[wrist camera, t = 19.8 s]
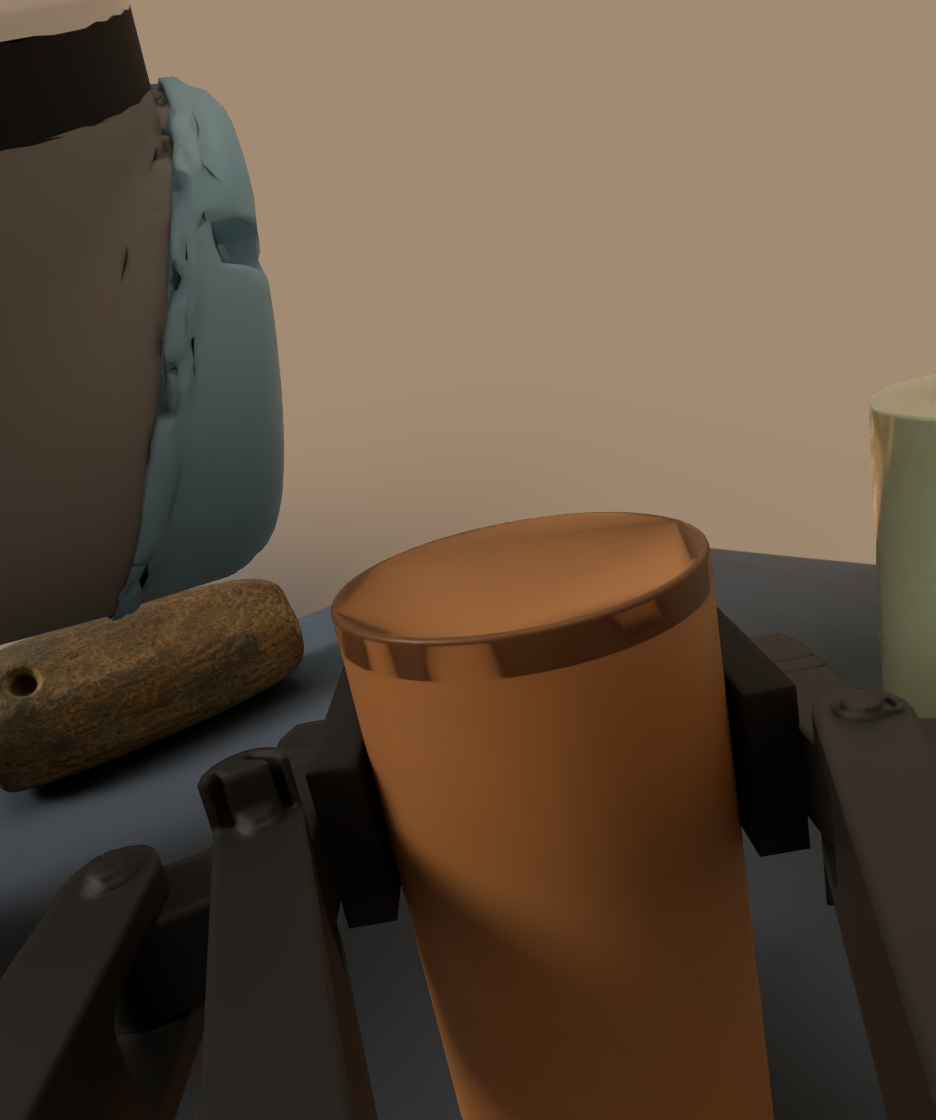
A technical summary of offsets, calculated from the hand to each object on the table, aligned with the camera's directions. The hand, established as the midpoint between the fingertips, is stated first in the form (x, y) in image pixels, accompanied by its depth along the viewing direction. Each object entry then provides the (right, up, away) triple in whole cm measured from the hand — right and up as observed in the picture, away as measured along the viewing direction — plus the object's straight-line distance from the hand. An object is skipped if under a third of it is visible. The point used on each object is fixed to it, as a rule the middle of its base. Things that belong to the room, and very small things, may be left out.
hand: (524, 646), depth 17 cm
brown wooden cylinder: (-16, -7, +20) cm, 27 cm away
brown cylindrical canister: (+2, -9, -3) cm, 10 cm away
